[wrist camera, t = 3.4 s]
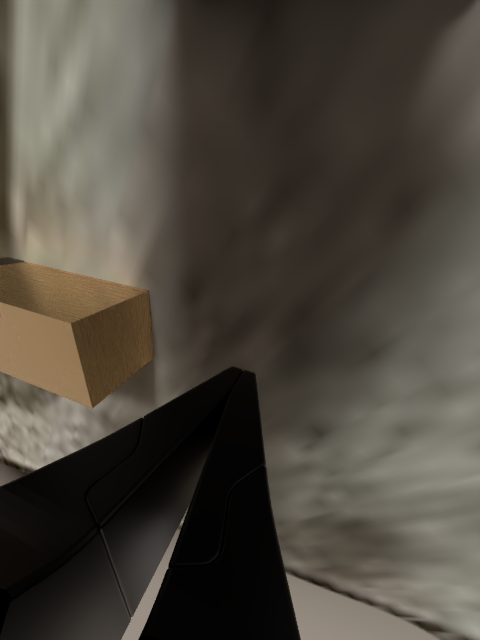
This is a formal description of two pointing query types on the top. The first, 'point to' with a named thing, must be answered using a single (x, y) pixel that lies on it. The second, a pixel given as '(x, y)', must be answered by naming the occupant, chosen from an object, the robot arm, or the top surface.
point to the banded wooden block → (71, 330)
